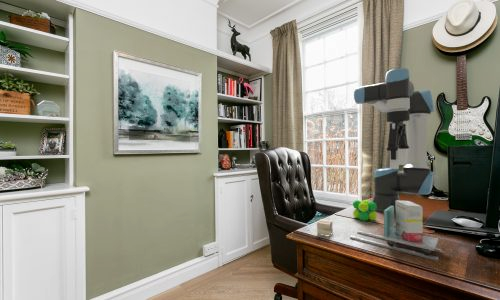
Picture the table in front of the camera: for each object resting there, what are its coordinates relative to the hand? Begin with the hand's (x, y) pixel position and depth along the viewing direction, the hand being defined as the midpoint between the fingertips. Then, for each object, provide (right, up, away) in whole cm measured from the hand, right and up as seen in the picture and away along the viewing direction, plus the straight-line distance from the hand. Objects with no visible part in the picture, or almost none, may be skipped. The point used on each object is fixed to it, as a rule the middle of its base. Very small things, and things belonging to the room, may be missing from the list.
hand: (398, 166), depth 90 cm
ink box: (-2, -24, -8) cm, 25 cm away
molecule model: (-1, -28, +25) cm, 38 cm away
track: (-5, -28, -5) cm, 29 cm away
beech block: (-26, -28, +7) cm, 39 cm away
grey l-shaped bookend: (-1, -28, -9) cm, 29 cm away
